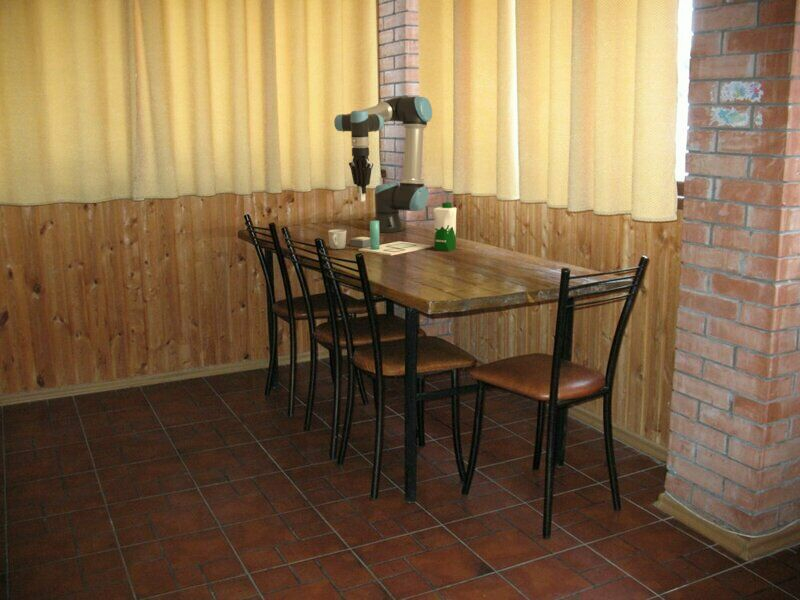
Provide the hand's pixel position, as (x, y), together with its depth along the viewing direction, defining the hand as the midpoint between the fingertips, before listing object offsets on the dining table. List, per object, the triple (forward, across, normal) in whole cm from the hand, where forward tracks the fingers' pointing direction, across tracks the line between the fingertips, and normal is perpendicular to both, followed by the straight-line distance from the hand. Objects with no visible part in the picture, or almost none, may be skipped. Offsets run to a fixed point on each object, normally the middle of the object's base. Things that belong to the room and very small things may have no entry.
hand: (362, 200), depth 385 cm
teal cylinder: (+19, +14, -8) cm, 25 cm away
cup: (+20, -2, -15) cm, 25 cm away
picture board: (+20, +18, +1) cm, 27 cm away
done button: (+20, 0, -1) cm, 20 cm away
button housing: (+20, 0, -1) cm, 20 cm away
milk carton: (+20, +36, +13) cm, 43 cm away
